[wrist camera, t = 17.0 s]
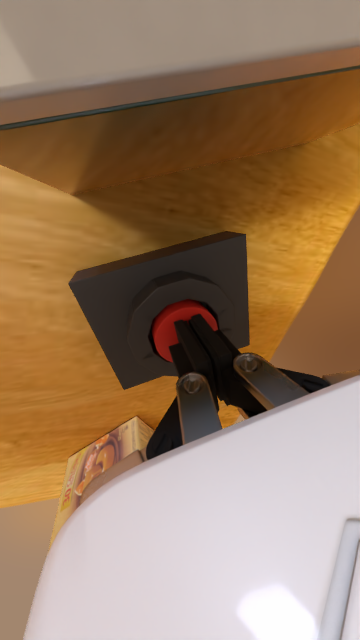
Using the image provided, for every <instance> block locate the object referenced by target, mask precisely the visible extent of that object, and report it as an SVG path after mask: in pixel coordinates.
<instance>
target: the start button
mask: <svg viewBox="0 0 360 640" xmlns="http://www.w3.org/2000/svg"><path fill="white" fill-rule="evenodd" d="M197 314H201V315H202V317H203V318H204V319H205V320H206V322H207V323H208V324H209V325H210V326H211V328H212V329H213V330H214V331H216V330H218V328H217V323H216V320H215V319H214V317H213V316H212V315H211V313H210V312H209V311H208V310H207V309H206V308H205V307H204V306H203V305H202V304H201V303H200V302H199V301H196V300H192V299H186V300H183V301H179V302H176V303H173V304H170V305H167V306H166V307H165V308H164V309H163V310H162V311H161V312H160V313H159V314H158V315H157V316H156V317H155V318H154V319H153V321H152V325H151V331H152V335H153V339H154V342H155V346H156V349H157V351H158V353H159V354H160V355H161V356H162V357H163V358H164V359H166V360H168V361H170V362H173V361H172V357H171V354H170V351H169V347H168V346H171V345H174V344H177V343H179V342H178V338H177V334H176V331H175V327H174V322H175V321H178V320H183V321H187V322H188V324H189V319H191V316H194V315H197ZM189 326H190V325H189Z"/></svg>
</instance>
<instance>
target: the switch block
mask: <svg viewBox="0 0 360 640" xmlns="http://www.w3.org/2000/svg"><path fill="white" fill-rule="evenodd" d="M68 284H69V286H70V288H71V290H72V292H73V294H74V296H75V297H76V299H77V301H78V303H79V305H80V307H81V309H82V311H83V313H84V315H85V317H86V318H87V320H88V322H89V324H90V326H91V328H92V330H93V332H94V334H95V336H96V338H97V339H98V341H99V343H100V345H101V347H102V349H103V351H104V353H105V355H106V357H107V359H108V360H109V362H110V364H111V366H112V368H113V370H114V372H115V374H116V376H117V378H118V380H119V381H120V383H121V385H122V387H123V389H124V390H125V389H128V388H131V387H134V386H136V385H139V384H142V383H145V382H148V381H150V380H153V379H156V378H159V377H162V376H178V375H177V372H176V370H175V367H174V364H173V362H170V361H168V360H166V359H164V358H163V357H162V356H161V355H160V354H159V353H158V351H157V349H156V346H155V342H154V339H153V335H152V331H151V325H152V321H153V319H154V318H155V317H156V316H157V315H158V314H159V313H160V312H161V311H162V310H163V309H164V308H165V307H166V306H167V305H170V304H173V303H176V302H179V301H183V300H186V299H192V300H196V301H199V302H200V303H201V304H202V305H203V306H204V307H205V308H206V309H207V310H208V311H209V312H210V313H211V315H212V316H213V317H214V319H215V320H216V323H217V328H218V330H221V331H222V332H223V333H224V335H225V336H226V337H227V338H228V339H229V340H230V341H231V343H232V344H233V345H234V346H235V347H236V348H237V349H240V348H242V347H245V346H248V345H249V313H248V281H247V250H246V234H242V233H235V232H228V231H225V232H221V233H217V234H214V235H210V236H206V237H203V238H199V239H195V240H192V241H188V242H184V243H181V244H177V245H173V246H170V247H166V248H162V249H158V250H155V251H151V252H147V253H144V254H140V255H136V256H133V257H129V258H125V259H122V260H118V261H114V262H111V263H107V264H103V265H99V266H96V267H92V268H88V269H85V270H81V271H77V272H76V274H75V275H74V276H73V278H72V279H71V280H70V282H69V283H68Z"/></svg>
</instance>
